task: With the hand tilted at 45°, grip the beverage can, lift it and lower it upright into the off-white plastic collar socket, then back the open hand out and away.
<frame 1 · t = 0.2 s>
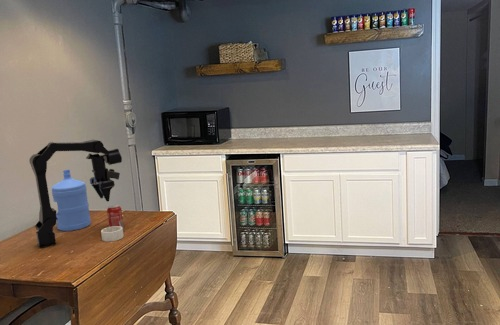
hand: (104, 199, 222), 15 cm above the table, tool pointing down, fingers open, 9 cm apart
collar socket: (112, 238, 212), on the table
beverage can: (117, 231, 222), on the table
water jug: (74, 226, 235), on the table
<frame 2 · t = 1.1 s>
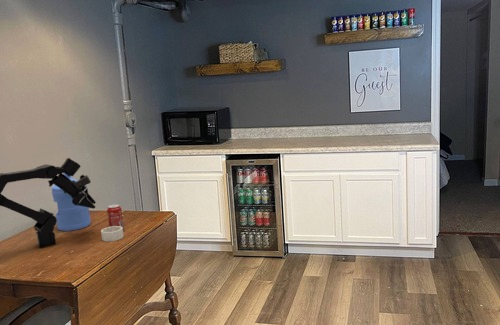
hand: (95, 205, 218), 13 cm above the table, tool tilted 45°, fingers open, 9 cm apart
nothing on the table moved.
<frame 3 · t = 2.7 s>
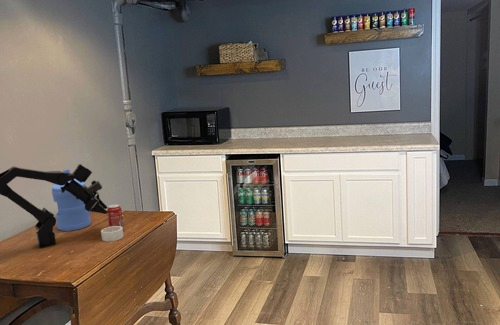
hand: (106, 210, 220), 10 cm above the table, tool tilted 45°, fingers open, 9 cm apart
nothing on the table moved.
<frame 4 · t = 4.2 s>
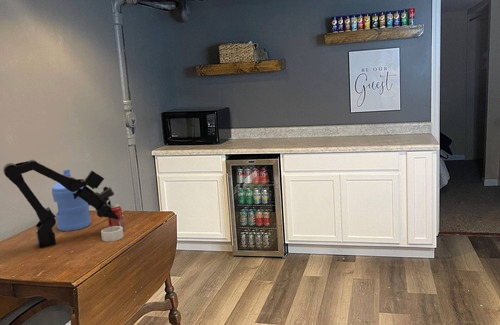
hand: (118, 216, 221), 7 cm above the table, tool tilted 45°, fingers closed on beverage can, 6 cm apart
beverage can: (117, 231, 222), on the table, touching gripper
everything else where it was.
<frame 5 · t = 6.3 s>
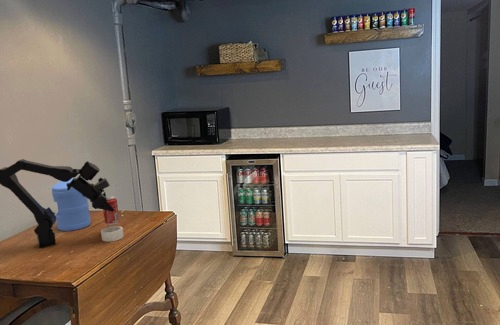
hand: (113, 208, 214), 12 cm above the table, tool tilted 45°, fingers closed on beverage can, 6 cm apart
beverage can: (112, 224, 214), point 5 cm above the table, touching gripper
everything else where it was.
when the fingers open (8 cm above the table, at t = 8.1 s): beverage can drops 1 cm, resting in collar socket.
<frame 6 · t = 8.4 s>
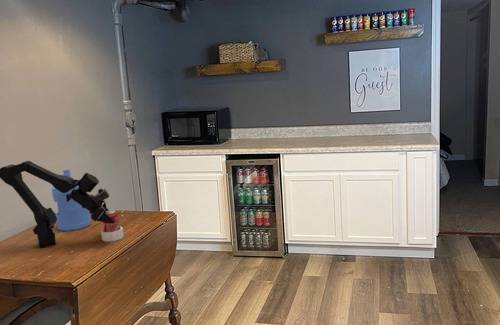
hand: (113, 220, 211), 8 cm above the table, tool tilted 45°, fingers open, 9 cm apart
beverage can: (112, 238, 212), resting in collar socket
everything else where it was.
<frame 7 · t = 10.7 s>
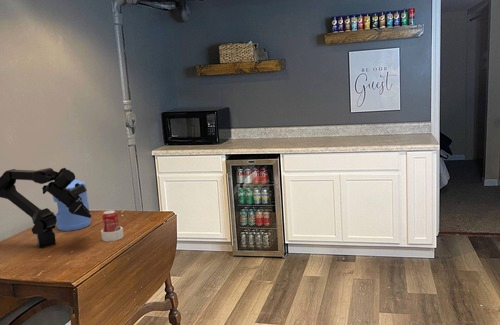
hand: (90, 215, 209), 12 cm above the table, tool tilted 40°, fingers open, 9 cm apart
nothing on the table moved.
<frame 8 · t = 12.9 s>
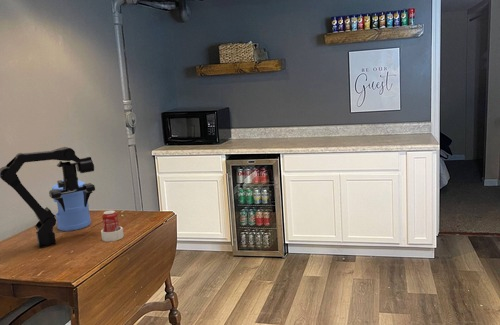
hand: (75, 209, 215), 13 cm above the table, tool pointing down, fingers open, 9 cm apart
nothing on the table moved.
at the end: beverage can 0.2 cm from the collar socket (horizontally); beverage can tilted 0°; the gripper is holding nothing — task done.
